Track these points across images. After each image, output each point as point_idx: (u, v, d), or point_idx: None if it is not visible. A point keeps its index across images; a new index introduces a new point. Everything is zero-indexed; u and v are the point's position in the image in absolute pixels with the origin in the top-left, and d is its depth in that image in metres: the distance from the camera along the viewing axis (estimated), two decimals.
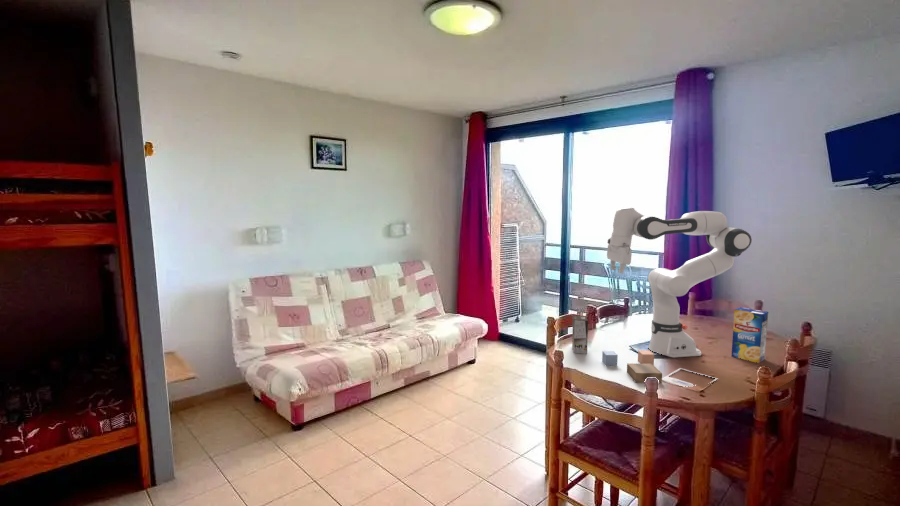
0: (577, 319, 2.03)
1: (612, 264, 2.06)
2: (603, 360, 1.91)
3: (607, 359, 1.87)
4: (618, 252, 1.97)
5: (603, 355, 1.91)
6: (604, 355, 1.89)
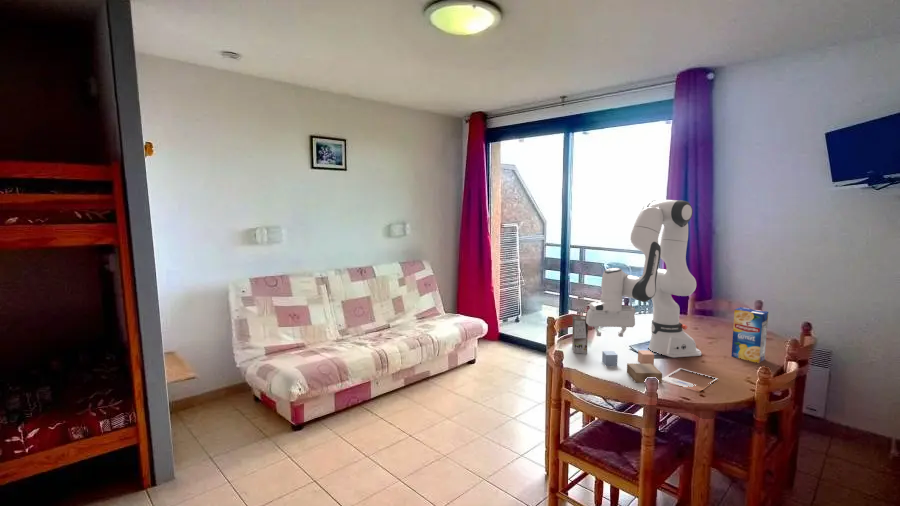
0: (577, 319, 2.03)
1: None
2: (603, 360, 1.91)
3: (607, 359, 1.87)
4: (619, 316, 1.85)
5: (603, 355, 1.91)
6: (604, 355, 1.89)
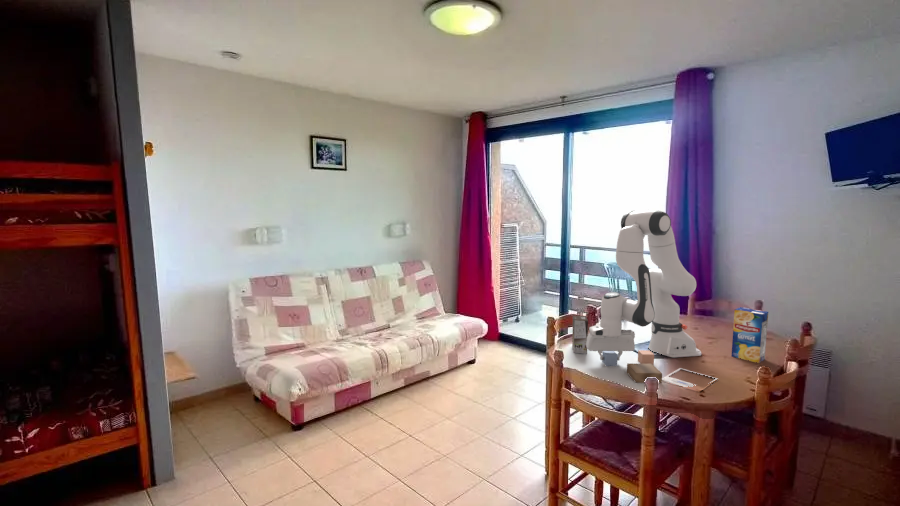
0: (577, 319, 2.03)
1: (601, 354, 1.89)
2: (603, 360, 1.91)
3: (607, 359, 1.87)
4: (618, 341, 1.87)
5: None
6: (604, 355, 1.89)
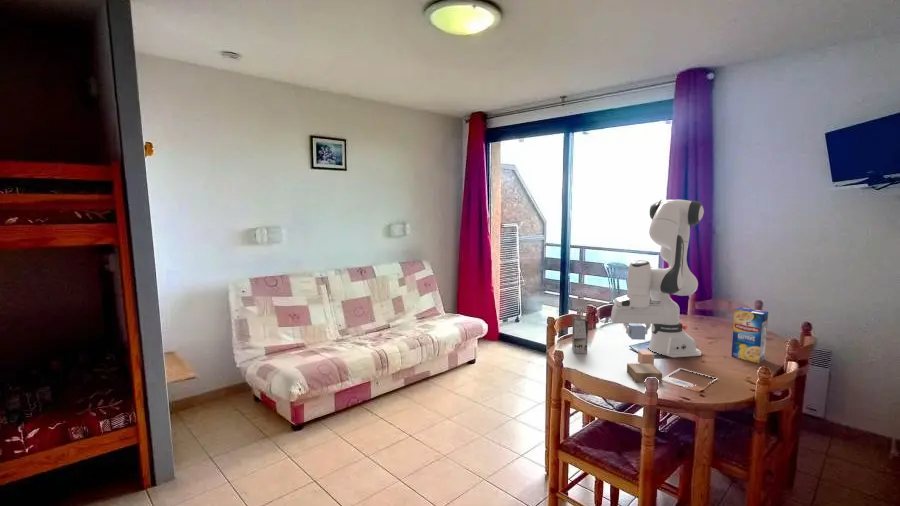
0: (577, 319, 2.03)
1: None
2: None
3: (634, 332, 1.73)
4: (646, 312, 1.73)
5: (629, 328, 1.77)
6: (631, 328, 1.75)
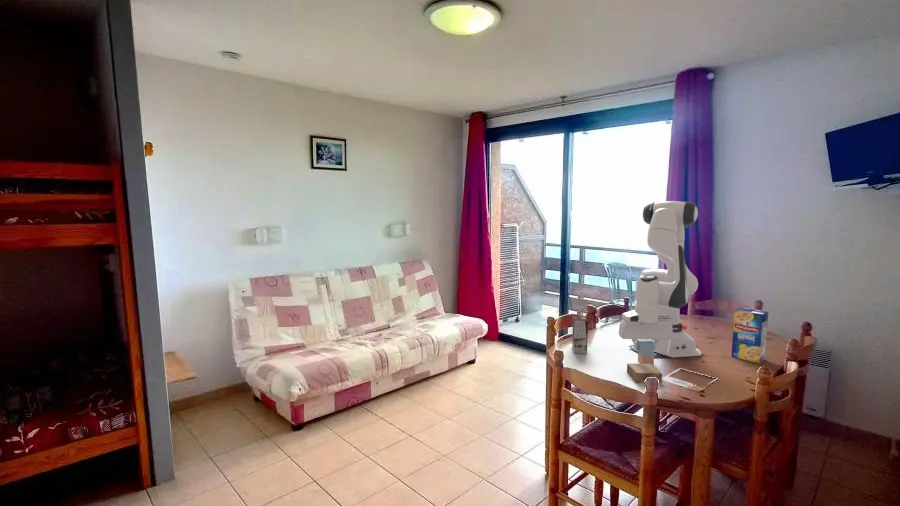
0: (577, 319, 2.03)
1: None
2: None
3: (642, 348, 1.70)
4: (655, 328, 1.70)
5: (637, 343, 1.74)
6: (639, 343, 1.72)
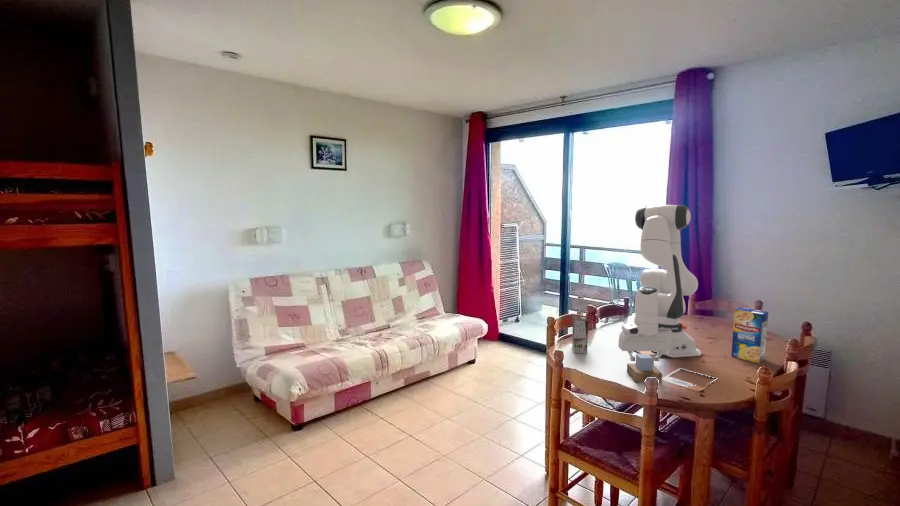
0: (577, 319, 2.03)
1: None
2: (637, 364, 1.75)
3: (642, 363, 1.71)
4: (654, 340, 1.71)
5: (637, 359, 1.75)
6: (638, 359, 1.73)
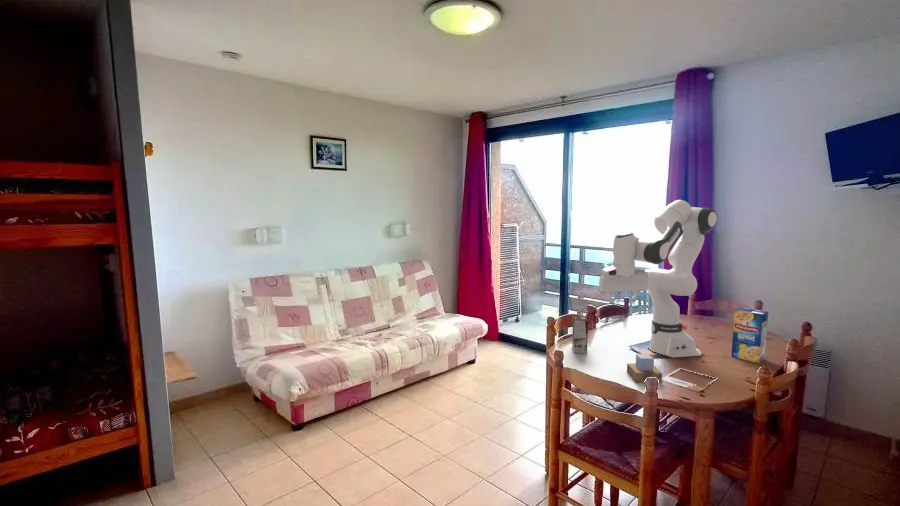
0: (577, 319, 2.03)
1: None
2: (637, 364, 1.75)
3: (642, 363, 1.71)
4: (632, 281, 1.85)
5: (637, 359, 1.75)
6: (638, 359, 1.73)
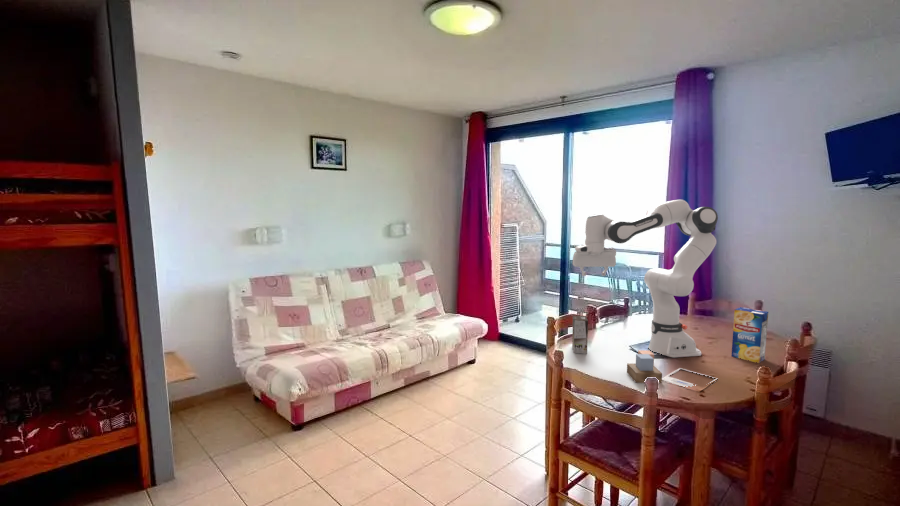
0: (577, 319, 2.03)
1: None
2: (637, 364, 1.75)
3: (642, 363, 1.71)
4: (601, 257, 2.08)
5: (637, 359, 1.75)
6: (638, 359, 1.73)
